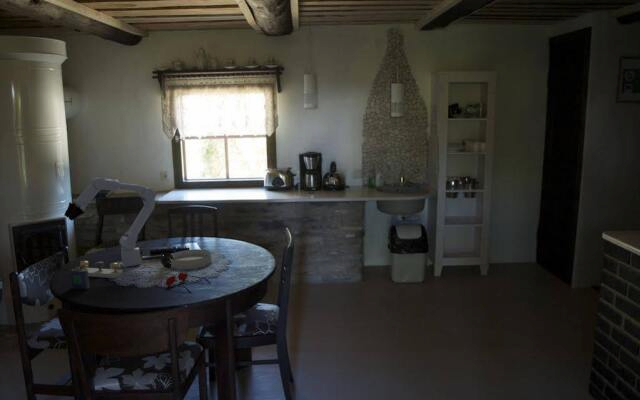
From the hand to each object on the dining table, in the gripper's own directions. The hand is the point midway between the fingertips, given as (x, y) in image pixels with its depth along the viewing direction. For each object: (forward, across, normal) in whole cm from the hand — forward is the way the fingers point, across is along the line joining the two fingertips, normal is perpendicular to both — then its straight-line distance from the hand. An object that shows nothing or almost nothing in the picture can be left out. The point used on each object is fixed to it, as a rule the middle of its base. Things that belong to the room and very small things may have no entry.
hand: (67, 217), depth 255 cm
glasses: (-7, +60, +44) cm, 74 cm away
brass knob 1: (+16, +4, +23) cm, 28 cm away
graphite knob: (+12, +12, +26) cm, 31 cm away
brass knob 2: (+8, +19, +29) cm, 36 cm away
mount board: (+13, +12, +28) cm, 33 cm away
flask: (+22, +27, +18) cm, 39 cm away
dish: (-18, +26, +58) cm, 66 cm away
